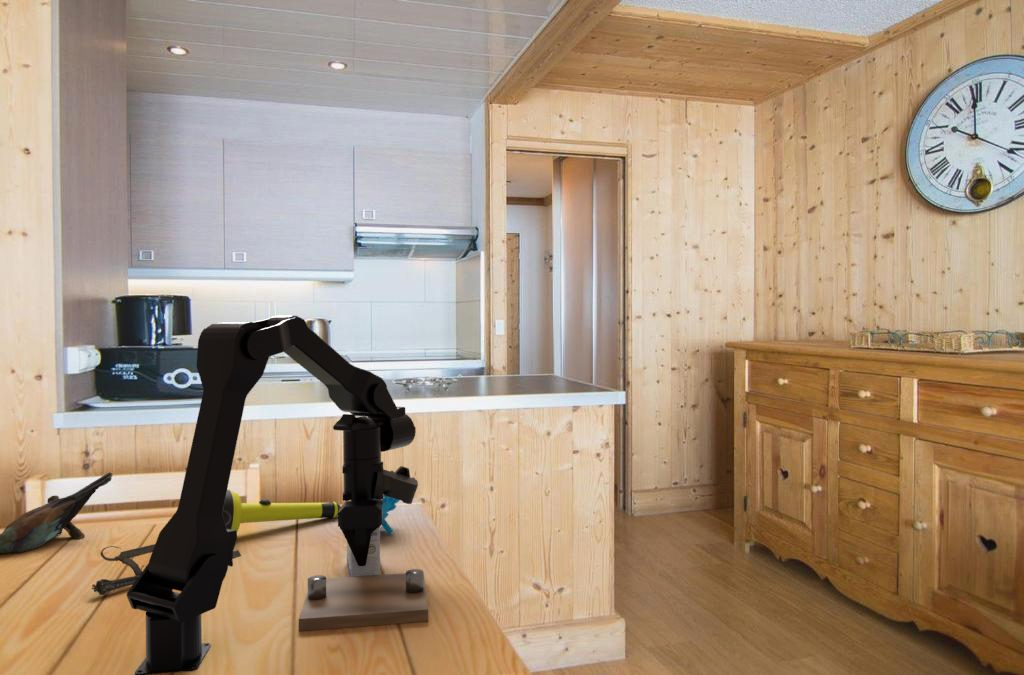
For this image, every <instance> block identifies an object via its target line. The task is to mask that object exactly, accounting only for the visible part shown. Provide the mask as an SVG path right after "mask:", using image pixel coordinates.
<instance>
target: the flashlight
mask: <svg viewBox="0 0 1024 675" xmlns="http://www.w3.org/2000/svg"><path fill="white" fill-rule="evenodd" d="M341 506H342V505H340V504H339V503H338V502H336V501H330V502H271V501H270V500H269V499H267V498H262V499H261V500H260V501H258V502H250V503H249V502H248V503H247V502H246V503H245V502H242V499H241V496H240V494H239V493H237V492H235V491H232V490H230V489H227V493H226V498H225V503H224V508H223V510H226V511H227V512H228V513H229V514H230V515H231V521H230V523H229V524H228V525H227V526H226V529H230V530H236V531H237V532H238V531H239V529H240V527H241V526H240V525H241V524H250V523H262V522H263V523H264V522H265V523H266V522H278V521H282V522H283V521H294V520H295V521H296V520H297V521H298V520H309V519H310V520H311V519H312V520H313V519H328V518H329V519H336V518H338V512H339V508H340V507H341ZM223 519H224V522H225V524H226V523H227V522H228V521H229V516H228V515H227V514H226V513H225V512H223Z"/></svg>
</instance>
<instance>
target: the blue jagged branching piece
mask: <svg viewBox="0 0 1024 675" xmlns="http://www.w3.org/2000/svg"><path fill="white" fill-rule="evenodd" d="M374 500H375V499H374ZM379 500H383V505H382V524H381V527H383V529H384V531H385V532H386V533H387V535H391V534H392V533H393V532H394V530H393V528H392V527H391V526H390V524H389V523H388V522H387V520H386V518H387V517H388V516H389V513H388V512H390V511H394V510H395V509H396V508H397V503H399V502H400V501H401V500H398V499H395V498H391V497H388V496H386V495H384V498H383V499H379Z"/></svg>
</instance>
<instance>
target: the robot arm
mask: <svg viewBox="0 0 1024 675" xmlns="http://www.w3.org/2000/svg"><path fill="white" fill-rule="evenodd" d="M307 323H308V322H306V320H305V319H304V318H302V317H300V316H298V315H273V316H271V317H269V318H266V319H262V320H256V321H241V322H239V321H237V322H236V321H234V322H232V321H231V322H215V323H211V324H210V325H208V326H207V327H205V328H204V329H203V330H202V331H201V332H200V334H199V338H198V342H197V353H196V354H197V355H196V369H197V373H198V376H199V379H200V381H201V385H202V395H201V396H202V397H201V401H200V406H199V410H198V415H197V420H196V424H195V429H194V433H193V439H192V441H191V442H192V443H191V446H190V450H189V451H190V452H189V455H188V461H187V465H186V468H185V469H186V470H185V474H184V478H183V484H182V488H181V492H180V497H179V503H178V507H177V509H176V511H175V513H174V514H173V515H172V516H171V518H170V519H169V520H168V521H167V523H166V524H165V525H164V526H163V527H162V529H161V530H160V532H159V533H158V536H157V539H156V541H155V543H154V544H155V546H154V549H153V552H151V553H150V558H149V561H148V563H147V564H146V565H145V567H144V569H142V573H141V574H140V576H139V577H138V578H137V580H136V581H135V583H134V584H133V585H131V587H130V588H129V590H127V593H126V597H127V600H128V602H129V604H130V608H131V609H134V610H140V611H143V612H145V658H144V660H142V662H141V663H140V665H139V666H138V668H137V669H136V670H135V671H134V675H158V674H170V673H171V674H172V673H184V672H193V671H196V670H198V669H199V668H200V666H201V664H202V662H203V661H204V659H205V657H206V655H207V654H208V652H209V651H210V648H212V644H211V643H210V642H204V643H203V642H202V639H203V637H202V635H203V634H202V633H203V631H202V630H203V629H202V614H205V613H207V612H210V611H212V610H214V609H216V608H217V604H218V600H219V596H220V593H221V589H222V585H223V583H224V580H225V578H226V576H227V572H228V569H229V567H233V566H234V562H233V560H234V559H232V556H233V551H235V550H234V549H235V546H236V543H237V540H238V531H236V530H230V529H226V526H225V522H224V519H223V508H224V503H225V498H226V493H227V490H228V488H229V482H230V477H231V472H232V468H233V463H234V458H235V453H236V449H237V444H238V443H237V442H238V437H239V433H240V428H241V423H242V419H243V414H244V408H245V404H246V399H247V397H248V394H249V393H250V392H251V391H252V390H253V389H254V387H255V386H256V384H257V383H258V382H259V381H260V380H261V378H262V377H263V376H264V373H265V370H266V368H267V364H268V361H269V359H270V357H272V356H275V355H278V354H282V353H285V354H286V355H287V356H288V357H290V359H292V360H293V361H295V363H297V364H298V365H299V366H301V367H302V368H303V369H304V370H306V371H307V372H309V374H310V375H311V376H313V377H314V378H316V379H317V380H319V382H320V383H321V384H323V385H324V386H325V387H326V388H327V391H328V397H329V398H330V400H331V401H332V402H333V403H334V405H336V407H337V408H338V410H340V411H342V412H344V413H342V416H341V417H340V419H339V420H337V421H336V422H335V423H334V425H333V426H332V429H333V430H334V431H342V437H343V438H342V440H343V441H342V442H343V446H342V447H343V448H342V449H343V450H342V451H343V455H342V456H343V458H342V460H343V465H342V474H343V492H342V501H344V502H343V504H342V505H340V506H341V507H340V508H339V512H338V516H337V527H339V529H340V530H341V532H342V534H343V536H344V538H345V540H346V543H347V542H348V544H349V547H350V549H351V551H352V553H353V555H354V558H355V560H356V562H357V564H358V566H365V565H366V561H367V556H368V550H369V545H370V540H371V535H372V533H373V532H374V531H375V530H376V529H377V528H379V527H380V528H381V527H382V525H381V524H382V505H383V499H384V495H386V496H388V497H391V498H395V499H398V500H400V501H401V502H402V503H404V504H407V505H412V503H413V501H414V498H415V496H416V492H417V490H418V486H419V481H418V480H417V478H416V477H411V474H410V472H411V471H410V468H408V467H406V466H402V465H400V466H399V467H398V468H397V469H396V470H395V471H394V470H386V469H384V461H382V453H383V452H388V451H392V450H395V449H401V448H403V447H407V446H409V445H411V443H412V442H413V441H414V440H415V436H416V431H417V428H416V426H415V423H414V421H413V420H412V418H411V417H410V416H409V415H408V414H406V406H397V405H396V403H395V401H394V400H393V398H392V395H391V393H390V392H389V390H388V386H387V383H386V381H385V380H384V379H383V378H382V377H380V376H379V375H377V374H375V373H373V372H371V371H370V370H367V369H364V368H360V367H357V366H355V365H354V364H351V363H350V362H349V361H347V360H346V358H344V357H343V356H342V355H341V354H340V353H338V351H336V350H335V349H334V348H333V347H332V346H331V345H329V344H328V343H327V342H326V341H325V340H324V339H323V338H321V337H320V336H319V335H318V334H317V333H316V332H315V331H314V330H312V329H311V327H309V326H308V324H307ZM346 413H347V414H346ZM348 413H349V414H348ZM374 499H375V500H374ZM379 499H381V500H379ZM175 591H179V592H175Z"/></svg>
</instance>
